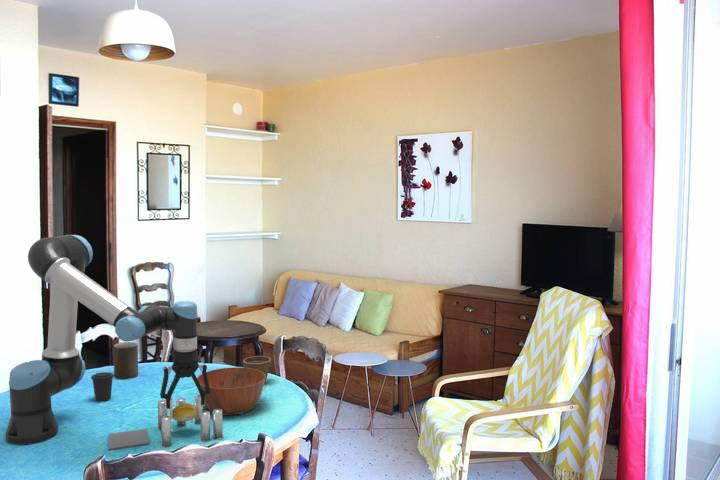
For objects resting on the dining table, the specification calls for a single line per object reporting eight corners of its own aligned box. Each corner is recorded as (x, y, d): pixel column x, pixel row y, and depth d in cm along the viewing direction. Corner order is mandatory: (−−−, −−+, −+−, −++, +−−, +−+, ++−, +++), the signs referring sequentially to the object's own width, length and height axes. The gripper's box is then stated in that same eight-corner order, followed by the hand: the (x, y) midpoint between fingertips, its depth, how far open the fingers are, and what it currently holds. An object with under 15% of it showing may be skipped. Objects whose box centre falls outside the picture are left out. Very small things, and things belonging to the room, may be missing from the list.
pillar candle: (123, 381, 255) (123, 345, 253) (109, 376, 260) (108, 342, 259) (143, 375, 263) (142, 341, 261) (128, 371, 268) (128, 337, 267)
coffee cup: (92, 396, 236) (91, 371, 235) (115, 394, 238) (114, 369, 237) (90, 404, 228) (89, 377, 227) (113, 401, 230) (113, 375, 230)
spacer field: (162, 447, 191) (161, 419, 190) (158, 426, 207) (157, 400, 207) (223, 438, 198) (223, 411, 197) (214, 418, 215) (214, 394, 214)
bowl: (183, 407, 225) (182, 377, 224) (239, 391, 243) (238, 363, 242) (222, 426, 208) (222, 393, 207) (279, 407, 226) (279, 377, 225)
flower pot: (237, 384, 252) (237, 360, 251) (256, 377, 261) (256, 354, 260) (257, 389, 246) (257, 365, 245) (276, 382, 255) (276, 358, 254)
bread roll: (173, 423, 196) (173, 411, 196) (171, 413, 205) (171, 401, 204) (199, 420, 199) (199, 408, 199) (196, 410, 208) (196, 399, 207)
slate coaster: (108, 450, 189) (108, 448, 189) (108, 435, 200) (108, 433, 200) (149, 444, 193) (149, 442, 193) (147, 430, 204) (147, 428, 204)
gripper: (152, 354, 192) (152, 424, 194) (219, 349, 200) (219, 416, 202) (150, 348, 199) (150, 415, 201) (216, 343, 207) (215, 408, 209)
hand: (185, 416), depth 202 cm, fingers closed on bread roll, 8 cm apart
